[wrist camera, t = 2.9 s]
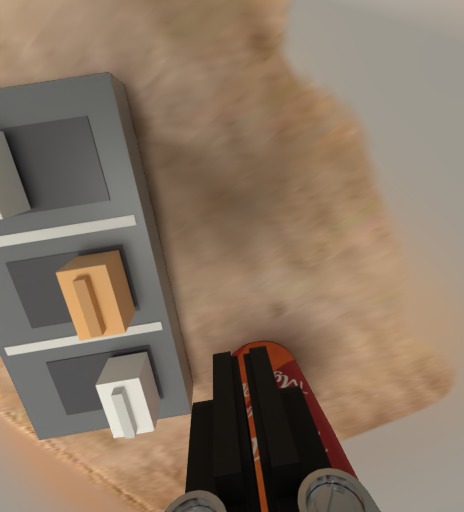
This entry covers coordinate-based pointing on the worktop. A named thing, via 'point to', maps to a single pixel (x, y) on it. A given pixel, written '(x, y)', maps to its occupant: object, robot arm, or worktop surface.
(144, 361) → the switch
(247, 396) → the coffee cup
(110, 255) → the switch
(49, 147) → the switch panel
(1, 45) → the worktop surface
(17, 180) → the switch
